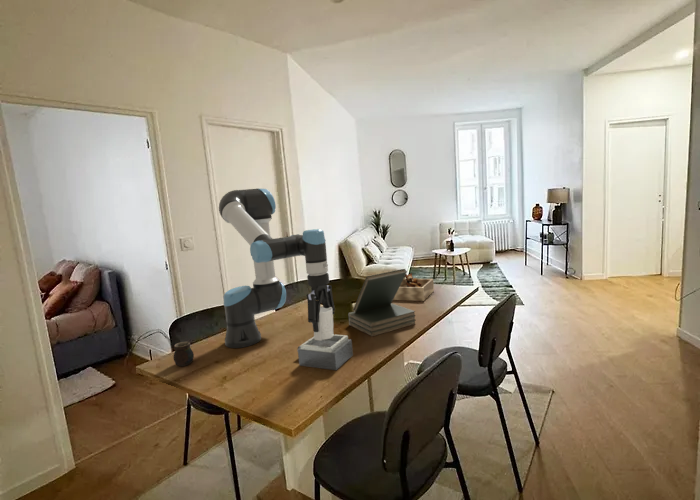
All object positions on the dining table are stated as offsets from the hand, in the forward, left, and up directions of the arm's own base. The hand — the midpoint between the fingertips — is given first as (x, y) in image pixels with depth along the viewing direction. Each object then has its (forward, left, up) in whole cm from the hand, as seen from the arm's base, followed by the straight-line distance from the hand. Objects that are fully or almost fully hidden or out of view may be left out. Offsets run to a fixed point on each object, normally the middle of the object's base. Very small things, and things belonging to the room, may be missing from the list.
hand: (324, 335), depth 141 cm
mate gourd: (-53, -17, -10) cm, 57 cm away
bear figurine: (+5, +92, -10) cm, 93 cm away
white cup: (0, 0, -1) cm, 1 cm away
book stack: (+5, +41, -10) cm, 42 cm away
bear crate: (+3, +91, -9) cm, 92 cm away
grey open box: (-2, 0, -9) cm, 9 cm away
